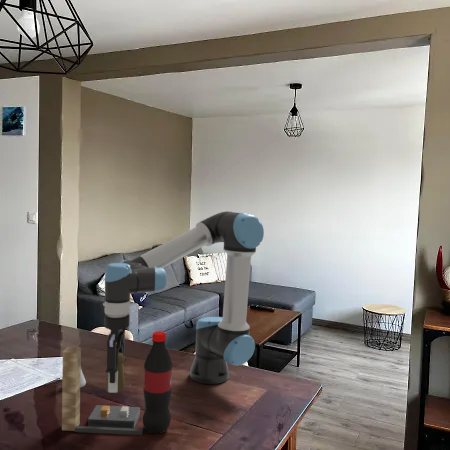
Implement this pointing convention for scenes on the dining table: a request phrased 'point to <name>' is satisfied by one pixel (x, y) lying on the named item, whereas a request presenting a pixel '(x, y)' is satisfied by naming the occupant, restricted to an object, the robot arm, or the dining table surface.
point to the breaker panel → (114, 416)
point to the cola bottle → (157, 386)
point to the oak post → (71, 388)
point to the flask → (82, 379)
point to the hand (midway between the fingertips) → (115, 387)
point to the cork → (119, 373)
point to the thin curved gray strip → (108, 430)
